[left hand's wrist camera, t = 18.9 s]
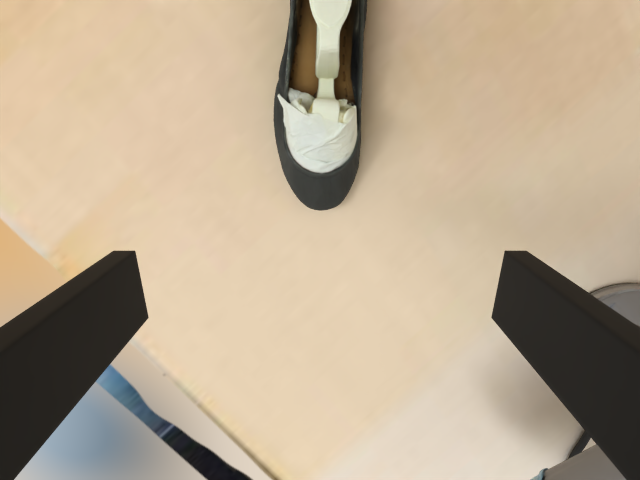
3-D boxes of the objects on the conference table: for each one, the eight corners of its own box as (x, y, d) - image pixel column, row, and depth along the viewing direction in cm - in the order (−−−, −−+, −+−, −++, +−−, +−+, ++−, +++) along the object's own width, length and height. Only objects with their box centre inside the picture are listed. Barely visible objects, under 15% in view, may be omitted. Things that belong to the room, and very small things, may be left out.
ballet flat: (280, 206, 37) (269, 231, 30) (269, -76, 29) (250, -144, 21) (356, 206, 37) (366, 231, 30) (367, -75, 29) (385, -144, 21)
